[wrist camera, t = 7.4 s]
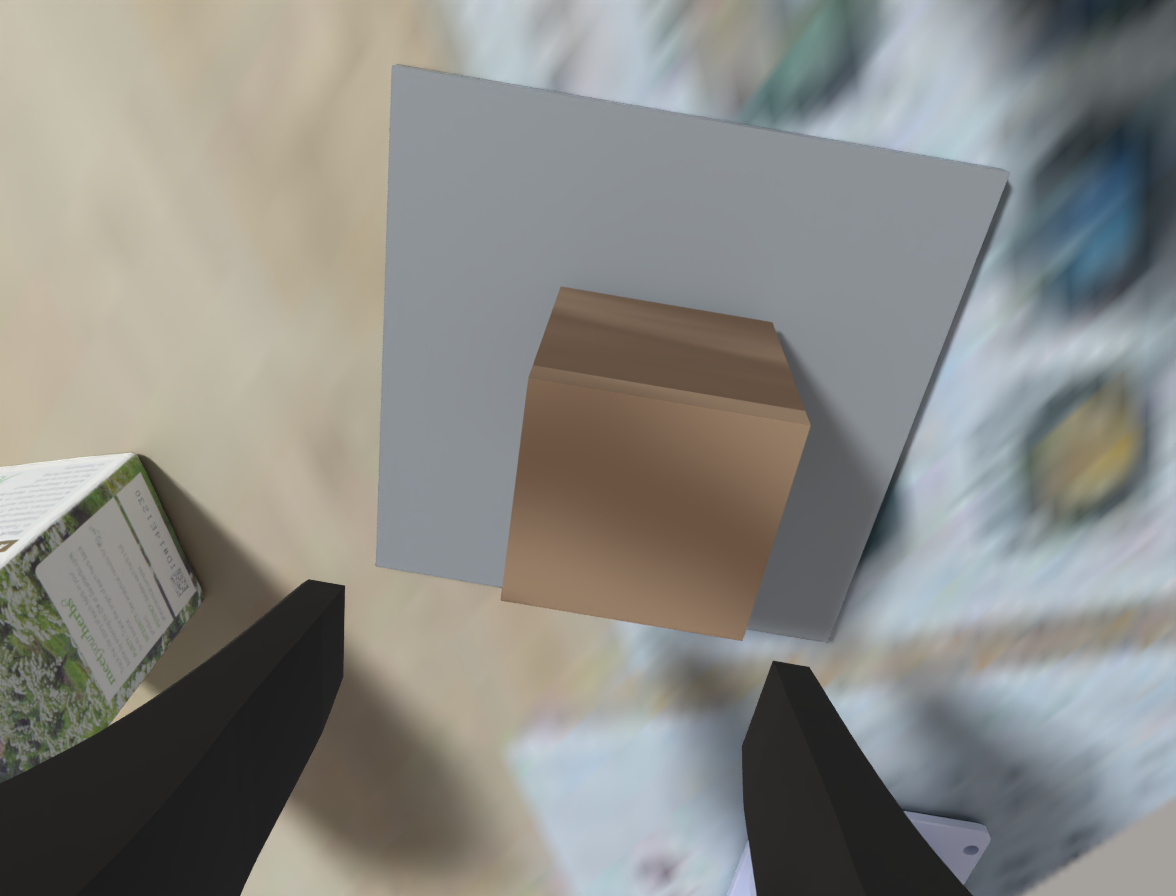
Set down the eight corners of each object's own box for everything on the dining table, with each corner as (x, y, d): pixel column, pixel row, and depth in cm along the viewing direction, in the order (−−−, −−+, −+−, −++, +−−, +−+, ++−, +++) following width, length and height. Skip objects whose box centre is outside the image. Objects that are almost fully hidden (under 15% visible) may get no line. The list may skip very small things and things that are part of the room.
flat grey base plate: (824, 631, 25) (868, 795, 20) (380, 556, 25) (307, 701, 20) (1001, 168, 19) (1138, 230, 13) (397, 64, 18) (294, 84, 13)
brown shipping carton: (723, 501, 22) (742, 641, 17) (535, 469, 22) (500, 600, 17) (772, 322, 20) (811, 425, 15) (560, 286, 20) (527, 377, 15)
